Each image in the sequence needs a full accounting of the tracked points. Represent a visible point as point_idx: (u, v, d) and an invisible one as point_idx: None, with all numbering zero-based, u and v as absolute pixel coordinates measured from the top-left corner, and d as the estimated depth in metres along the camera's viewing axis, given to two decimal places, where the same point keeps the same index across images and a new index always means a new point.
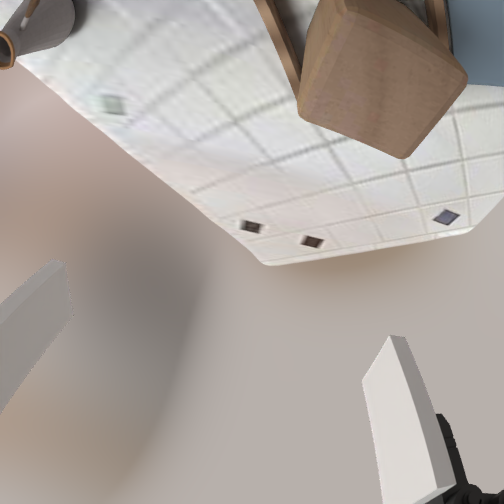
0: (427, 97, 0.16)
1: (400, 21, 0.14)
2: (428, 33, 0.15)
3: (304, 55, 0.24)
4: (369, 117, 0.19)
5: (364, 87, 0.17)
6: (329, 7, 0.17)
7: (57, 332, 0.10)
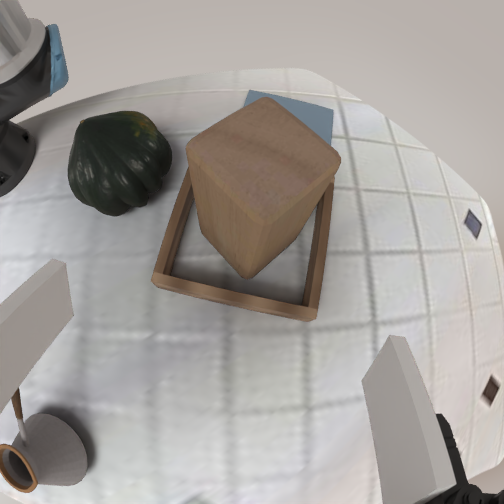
0: (275, 120, 0.25)
1: None
2: None
3: (244, 256, 0.31)
4: (284, 163, 0.23)
5: (252, 155, 0.23)
6: (199, 192, 0.29)
7: (57, 332, 0.10)
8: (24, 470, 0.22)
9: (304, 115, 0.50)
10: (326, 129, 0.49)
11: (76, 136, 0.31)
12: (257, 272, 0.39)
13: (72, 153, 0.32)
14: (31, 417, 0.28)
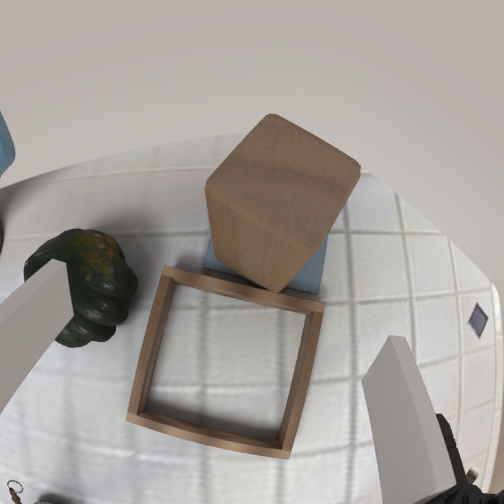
0: (289, 139, 0.24)
1: None
2: None
3: (278, 279, 0.31)
4: (312, 185, 0.23)
5: (280, 183, 0.22)
6: (221, 227, 0.28)
7: (57, 332, 0.10)
8: None
9: None
10: None
11: (24, 278, 0.26)
12: None
13: None
14: None
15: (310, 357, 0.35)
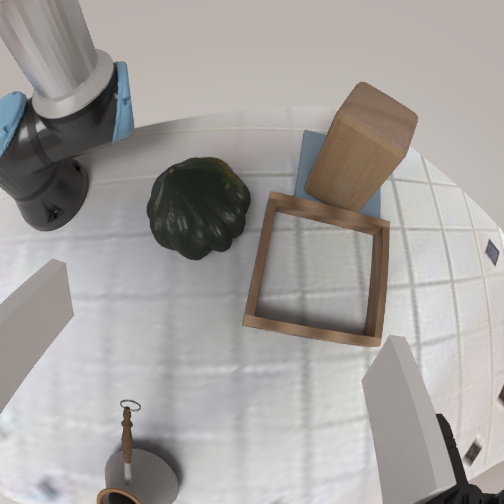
0: (378, 96, 0.34)
1: None
2: None
3: (367, 191, 0.41)
4: (397, 121, 0.33)
5: (380, 118, 0.33)
6: (335, 150, 0.38)
7: (57, 332, 0.10)
8: None
9: None
10: None
11: (165, 185, 0.36)
12: None
13: (159, 201, 0.37)
14: (119, 454, 0.33)
15: (385, 259, 0.45)
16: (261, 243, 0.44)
